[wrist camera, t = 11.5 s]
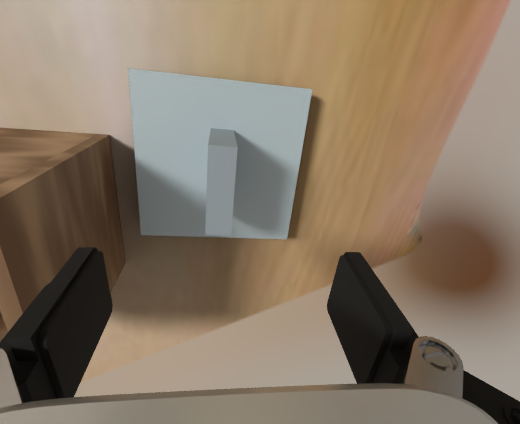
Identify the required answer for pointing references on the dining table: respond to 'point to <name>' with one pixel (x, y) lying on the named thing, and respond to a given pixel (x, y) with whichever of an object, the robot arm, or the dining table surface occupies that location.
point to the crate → (53, 211)
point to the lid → (216, 154)
